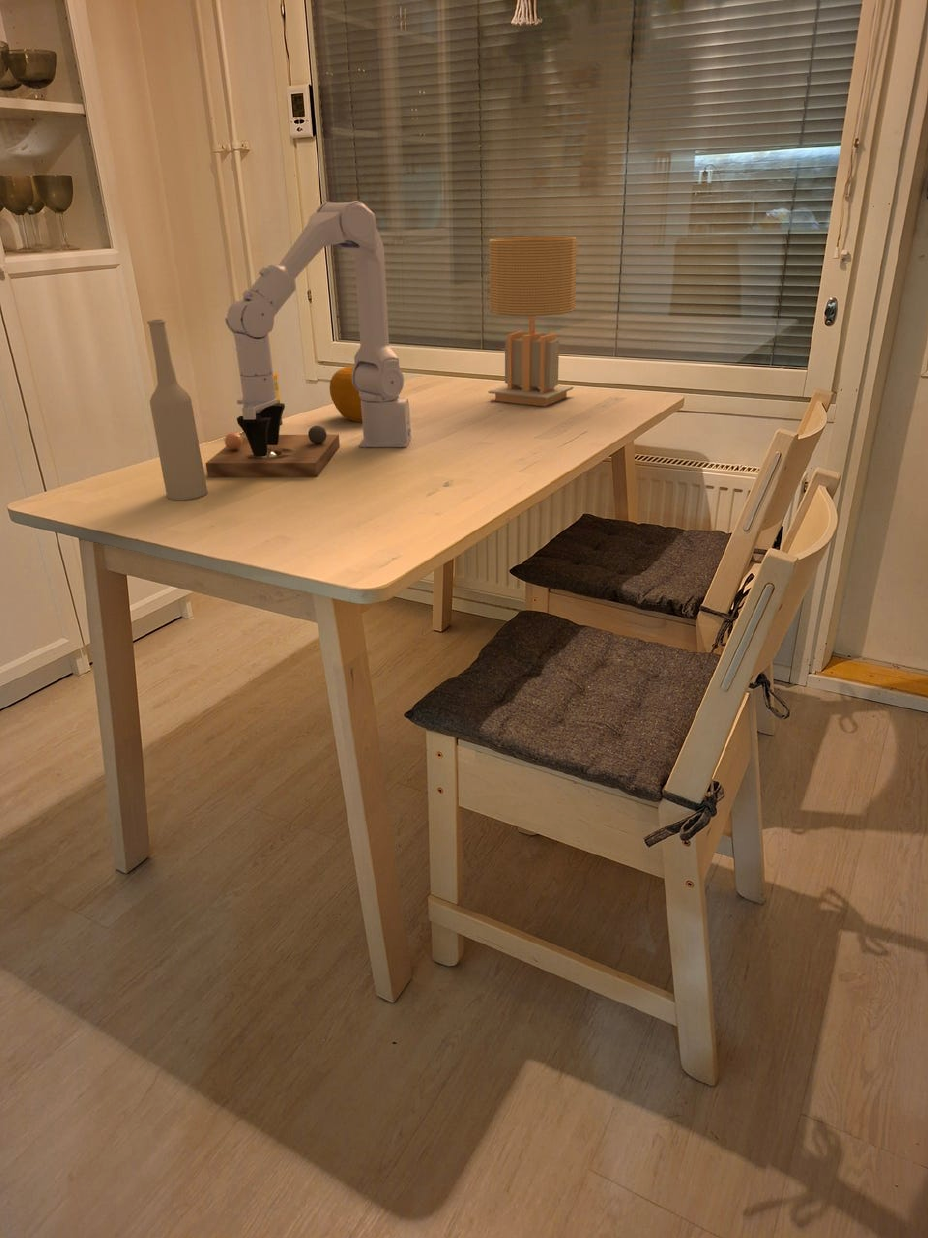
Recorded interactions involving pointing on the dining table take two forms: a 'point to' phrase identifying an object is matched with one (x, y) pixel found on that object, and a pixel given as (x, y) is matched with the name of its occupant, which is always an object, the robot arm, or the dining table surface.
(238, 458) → the board
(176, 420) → the bottle
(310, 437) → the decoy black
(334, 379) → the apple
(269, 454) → the steel ball
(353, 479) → the dining table surface
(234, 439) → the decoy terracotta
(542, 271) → the desk lamp
